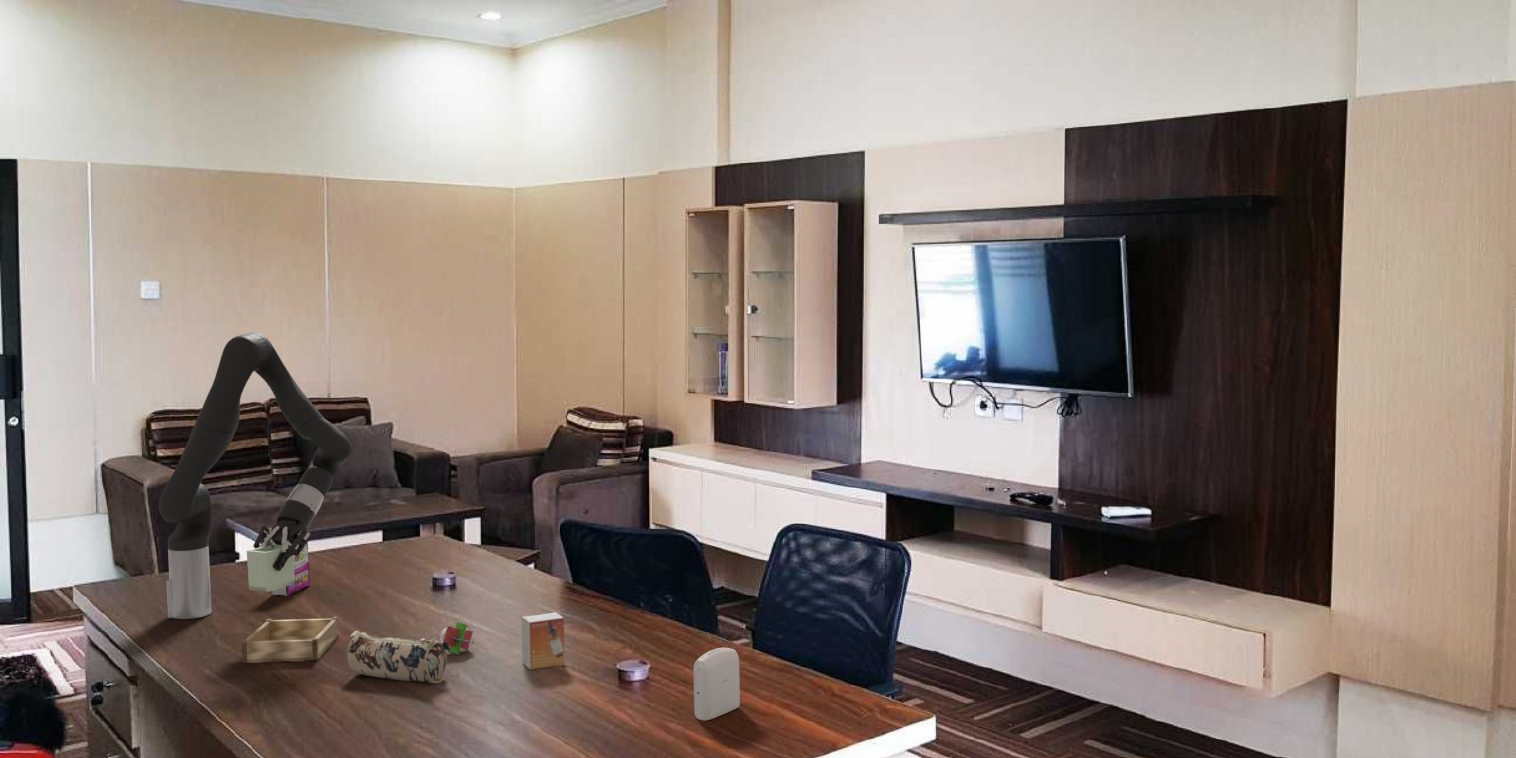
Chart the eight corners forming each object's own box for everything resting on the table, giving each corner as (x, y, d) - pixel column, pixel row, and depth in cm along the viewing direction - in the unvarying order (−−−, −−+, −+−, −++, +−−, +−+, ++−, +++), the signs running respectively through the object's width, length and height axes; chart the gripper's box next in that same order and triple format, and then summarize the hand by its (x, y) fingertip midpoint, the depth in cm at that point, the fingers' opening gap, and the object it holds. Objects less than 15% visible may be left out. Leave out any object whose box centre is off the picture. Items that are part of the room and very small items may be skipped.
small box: (529, 670, 265) (528, 622, 264) (522, 663, 270) (520, 616, 269) (565, 665, 269) (564, 617, 268) (557, 658, 274) (556, 611, 273)
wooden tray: (242, 663, 272) (241, 641, 272) (268, 639, 290) (267, 619, 290) (317, 660, 273) (316, 639, 273) (338, 637, 291) (337, 616, 291)
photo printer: (707, 722, 233) (706, 658, 232) (690, 717, 236) (689, 654, 235) (743, 708, 241) (742, 645, 240) (726, 703, 244) (726, 641, 243)
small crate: (249, 589, 285) (246, 551, 284) (275, 581, 292) (273, 543, 291) (268, 591, 282) (266, 552, 282) (295, 583, 290) (292, 545, 289)
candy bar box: (294, 585, 341) (291, 526, 340) (310, 586, 340) (308, 526, 339) (270, 595, 330) (267, 534, 329) (287, 596, 329) (284, 535, 328)
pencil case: (453, 677, 262) (451, 631, 261) (429, 690, 254) (427, 643, 253) (367, 666, 269) (365, 622, 268) (341, 678, 261) (339, 633, 260)
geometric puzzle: (470, 634, 285) (450, 611, 281) (486, 640, 280) (467, 617, 276) (448, 658, 281) (428, 635, 277) (465, 665, 276) (444, 641, 272)
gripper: (269, 496, 295) (232, 557, 286) (315, 500, 289) (279, 561, 280) (287, 514, 301) (251, 574, 291) (332, 518, 295) (298, 579, 285)
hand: (265, 567), depth 285 cm, fingers closed on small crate, 6 cm apart
